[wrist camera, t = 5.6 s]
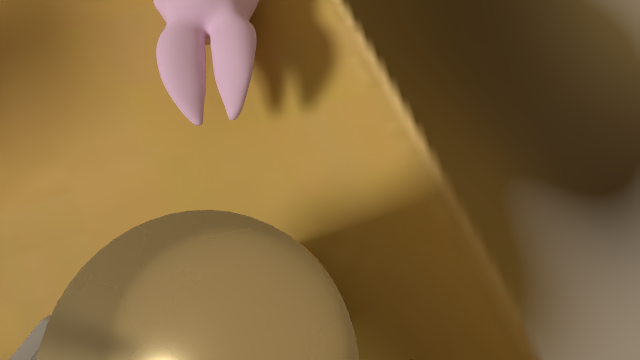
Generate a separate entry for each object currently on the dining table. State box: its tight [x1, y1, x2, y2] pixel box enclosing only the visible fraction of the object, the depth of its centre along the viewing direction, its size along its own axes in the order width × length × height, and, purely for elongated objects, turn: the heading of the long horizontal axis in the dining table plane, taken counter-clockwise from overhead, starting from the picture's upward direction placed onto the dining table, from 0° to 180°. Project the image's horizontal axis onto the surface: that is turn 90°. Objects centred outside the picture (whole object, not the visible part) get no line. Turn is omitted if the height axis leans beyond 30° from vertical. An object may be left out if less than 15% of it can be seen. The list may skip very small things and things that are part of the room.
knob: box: [37, 210, 360, 360], centre depth 12 cm, size 6×6×10 cm
